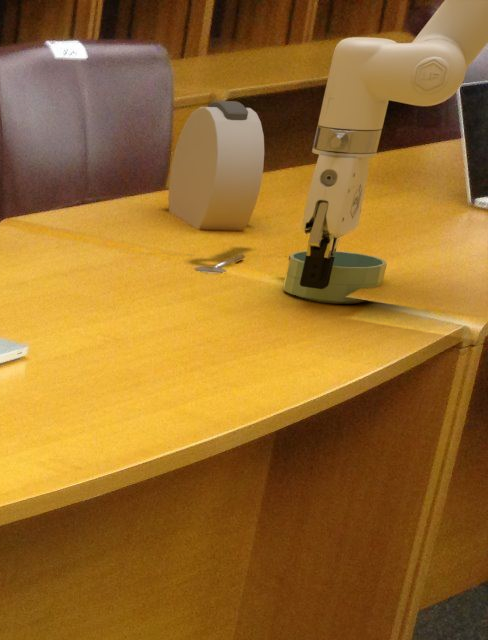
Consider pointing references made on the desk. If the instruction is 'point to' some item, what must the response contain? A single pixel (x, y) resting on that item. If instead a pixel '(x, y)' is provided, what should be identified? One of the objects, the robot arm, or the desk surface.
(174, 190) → the alarm clock
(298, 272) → the bowl
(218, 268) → the spoon
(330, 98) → the robot arm
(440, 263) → the desk surface
